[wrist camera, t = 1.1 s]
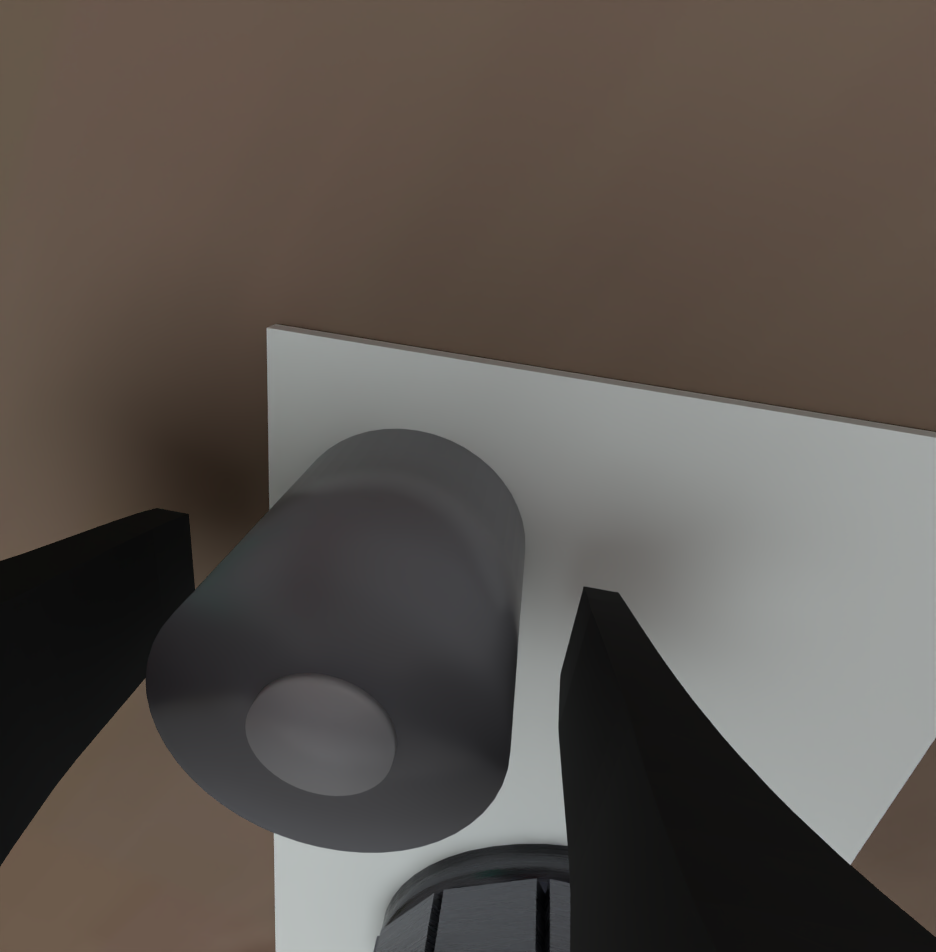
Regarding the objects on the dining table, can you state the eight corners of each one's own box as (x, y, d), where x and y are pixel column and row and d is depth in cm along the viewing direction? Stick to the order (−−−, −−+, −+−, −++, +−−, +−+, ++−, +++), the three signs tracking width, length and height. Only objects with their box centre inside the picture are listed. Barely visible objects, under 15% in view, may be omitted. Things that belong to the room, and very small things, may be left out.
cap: (546, 452, 11) (543, 629, 6) (504, 653, 13) (479, 896, 9) (292, 408, 11) (113, 548, 7) (291, 612, 14) (155, 826, 9)
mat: (1097, 458, 10) (1116, 467, 10) (693, 1078, 21) (695, 1094, 20) (275, 324, 11) (266, 328, 11) (281, 983, 21) (276, 996, 21)
